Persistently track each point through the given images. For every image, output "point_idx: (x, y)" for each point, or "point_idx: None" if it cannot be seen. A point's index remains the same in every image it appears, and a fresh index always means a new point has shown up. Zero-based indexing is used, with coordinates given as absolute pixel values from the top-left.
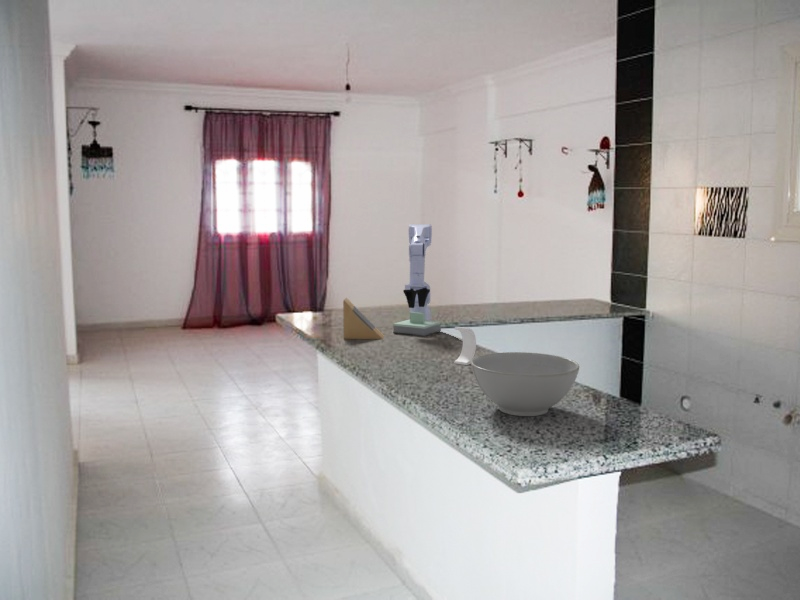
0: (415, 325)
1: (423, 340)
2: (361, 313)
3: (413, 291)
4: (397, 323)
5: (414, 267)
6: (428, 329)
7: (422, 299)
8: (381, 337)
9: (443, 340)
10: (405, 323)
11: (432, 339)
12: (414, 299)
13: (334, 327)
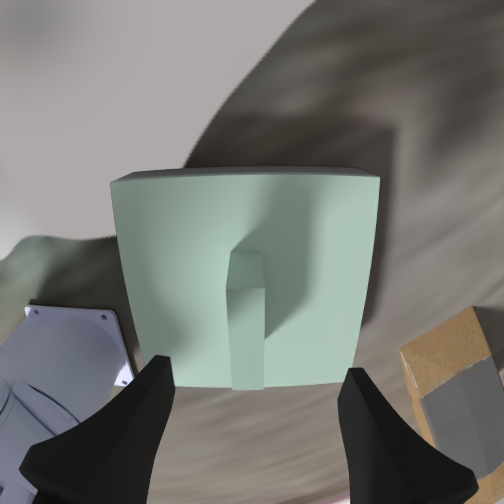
0: (362, 255)
1: (456, 125)
2: (463, 452)
3: (477, 483)
4: (335, 370)
5: None
6: (313, 170)
7: (147, 422)
8: (473, 313)
9: (408, 28)
10: (316, 341)
11: (416, 89)
12: (390, 424)
13: (309, 490)
